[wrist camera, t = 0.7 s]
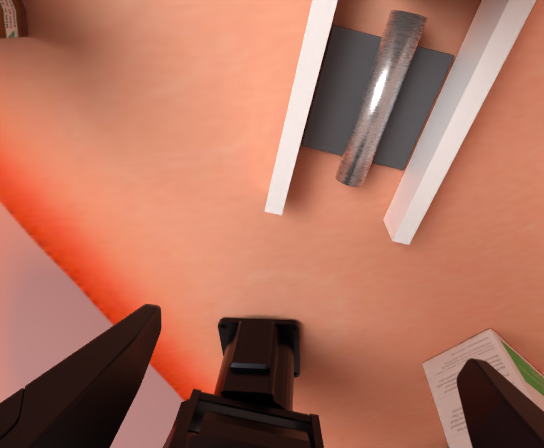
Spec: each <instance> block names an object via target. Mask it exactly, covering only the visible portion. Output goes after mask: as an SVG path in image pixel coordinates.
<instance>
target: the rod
mask: <svg viewBox="0 0 544 448" xmlns="http://www.w3.org/2000/svg"><path fill="white" fill-rule="evenodd" d="M426 21H427V18H426V17H423V16H421V15H417V14H413V13H409V12H404V11H396V10H392V11H391V12H390V15H389V18H388V21H387V24H386V27H385V30H384V33H383V36H382V39H381V42H380V45H379V48H378V51H377V54H376V57H375V60H374V63H373V66H372V69H371V72H370V75H369V78H368V81H367V84H366V87H365V90H364V93H363V96H362V99H361V102H360V105H359V108H358V111H357V114H356V117H355V120H354V123H353V126H352V129H351V132H350V135H349V138H348V141H347V144H346V147H345V149H344V152H343V155H342V158H341V161H340V164H339V167H338V170H337V173H336V176H335V177H336V179H337V180H338V181H339V182H341V183H343V184H346V185H349V186H353V187H361V186H363V184H364V181H365V179H366V176H367V174H368V171H369V168H370V166H371V163H372V161H373V158H374V156H375V153H376V150H377V148H378V145H379V143H380V140H381V138H382V135H383V132H384V130H385V127H386V125H387V122H388V119H389V117H390V114H391V112H392V109H393V107H394V104H395V101H396V99H397V96H398V94H399V91H400V88H401V86H402V83H403V81H404V78H405V76H406V73H407V70H408V68H409V65H410V63H411V60H412V57H413V55H414V52H415V50H416V47H417V45H418V42H419V39H420V37H421V34H422V32H423V29H424V27H425V24H426Z"/></svg>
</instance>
